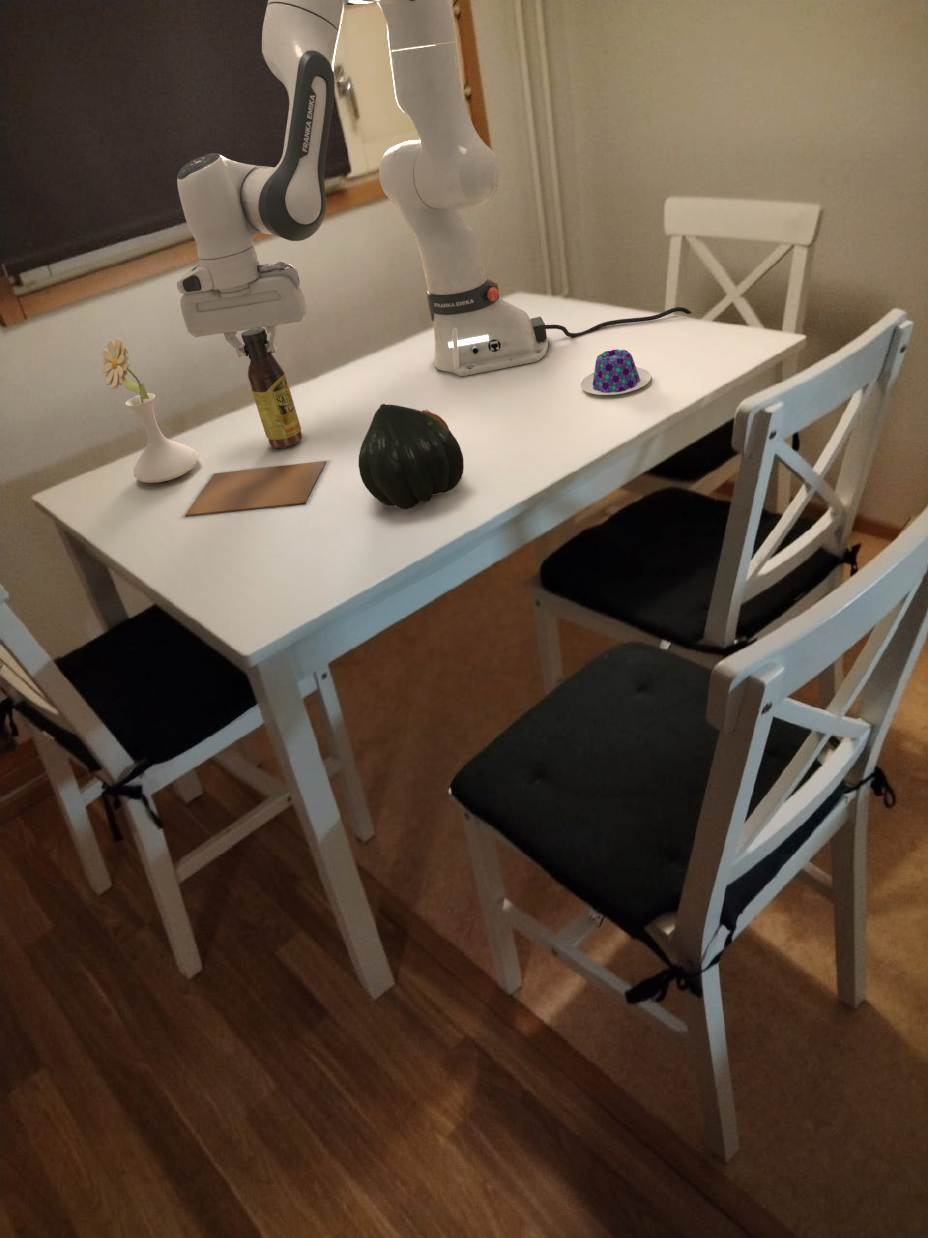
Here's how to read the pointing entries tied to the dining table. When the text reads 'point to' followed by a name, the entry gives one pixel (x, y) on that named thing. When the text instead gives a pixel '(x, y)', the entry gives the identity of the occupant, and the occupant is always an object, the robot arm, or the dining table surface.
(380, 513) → the dining table surface
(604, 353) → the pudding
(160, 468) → the flower in vase
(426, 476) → the squash
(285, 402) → the sauce bottle
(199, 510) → the cork mat
